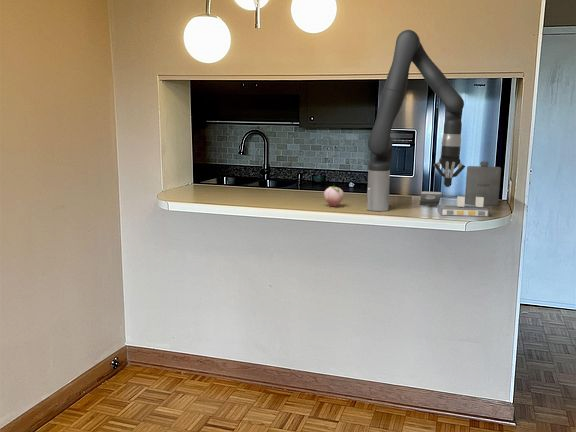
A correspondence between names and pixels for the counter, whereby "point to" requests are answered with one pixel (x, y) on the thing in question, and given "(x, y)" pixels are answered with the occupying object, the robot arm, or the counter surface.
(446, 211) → the switch unit
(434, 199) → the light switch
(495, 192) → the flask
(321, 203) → the counter surface
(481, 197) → the slider right
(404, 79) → the robot arm
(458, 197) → the slider left
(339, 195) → the decorative fruit
